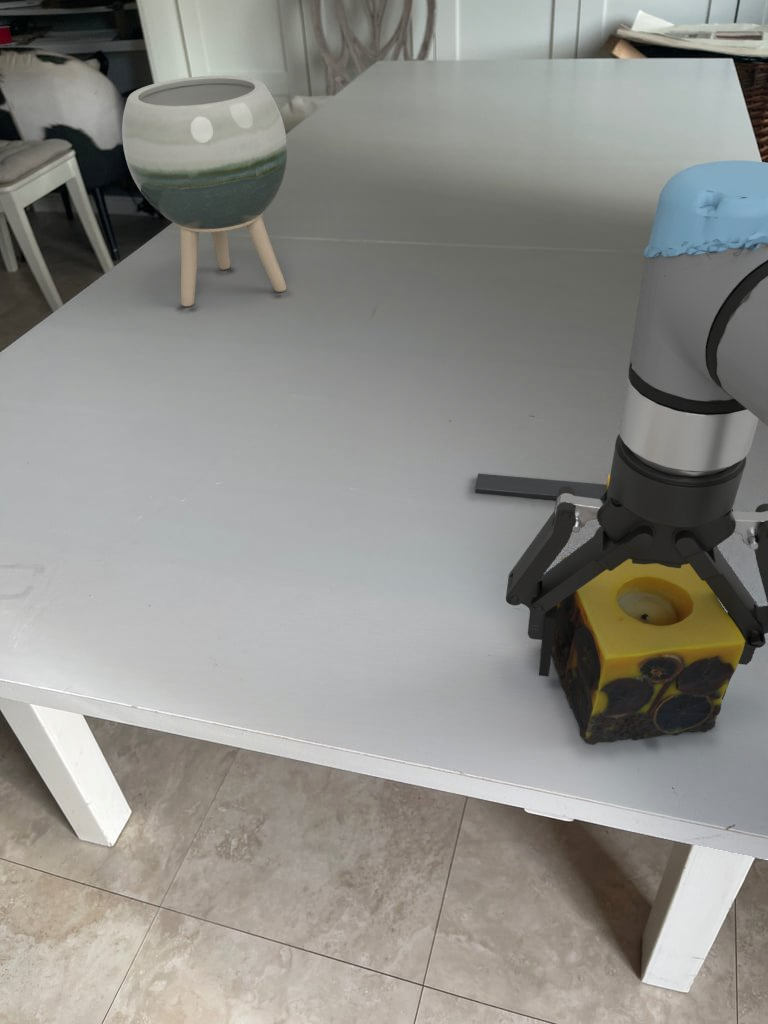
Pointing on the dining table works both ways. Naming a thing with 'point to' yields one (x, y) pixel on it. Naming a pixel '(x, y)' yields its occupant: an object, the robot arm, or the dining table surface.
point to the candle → (644, 653)
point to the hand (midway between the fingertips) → (628, 673)
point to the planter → (208, 162)
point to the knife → (535, 487)
